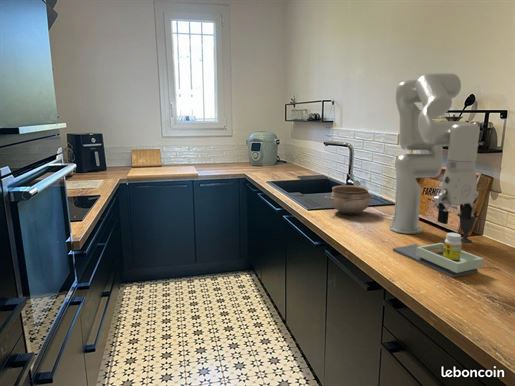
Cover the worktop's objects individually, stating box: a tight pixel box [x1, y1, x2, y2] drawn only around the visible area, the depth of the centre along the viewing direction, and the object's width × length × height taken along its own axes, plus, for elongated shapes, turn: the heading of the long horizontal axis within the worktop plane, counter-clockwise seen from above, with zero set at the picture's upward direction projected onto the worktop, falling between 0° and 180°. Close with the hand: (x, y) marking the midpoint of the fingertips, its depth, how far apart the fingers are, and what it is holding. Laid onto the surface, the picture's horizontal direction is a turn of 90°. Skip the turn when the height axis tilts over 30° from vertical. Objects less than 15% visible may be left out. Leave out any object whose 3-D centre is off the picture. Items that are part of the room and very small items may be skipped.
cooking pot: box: [324, 184, 375, 216], centre depth 185 cm, size 25×19×12 cm
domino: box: [430, 249, 444, 256], centre depth 124 cm, size 2×5×1 cm, turn 113°
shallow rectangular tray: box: [416, 242, 484, 274], centre depth 120 cm, size 16×11×4 cm
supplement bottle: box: [443, 232, 463, 262], centre depth 119 cm, size 5×5×8 cm
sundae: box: [457, 209, 479, 244], centre depth 144 cm, size 7×7×15 cm
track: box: [392, 244, 479, 278], centre depth 126 cm, size 25×11×1 cm, turn 23°
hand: (454, 220), depth 117 cm, fingers open, 9 cm apart
